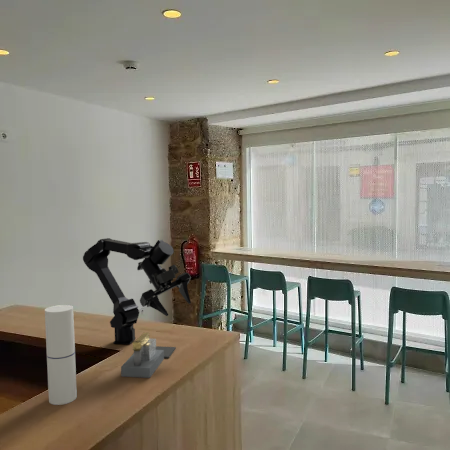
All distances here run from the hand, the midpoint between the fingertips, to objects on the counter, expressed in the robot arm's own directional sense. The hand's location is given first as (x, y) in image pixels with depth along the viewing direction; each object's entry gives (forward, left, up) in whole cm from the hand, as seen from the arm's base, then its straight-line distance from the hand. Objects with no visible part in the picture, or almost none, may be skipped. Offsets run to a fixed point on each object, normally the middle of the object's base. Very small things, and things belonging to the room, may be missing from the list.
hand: (179, 309), depth 148 cm
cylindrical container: (-24, -34, -16) cm, 44 cm away
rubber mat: (-9, +2, -16) cm, 19 cm away
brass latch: (-9, -12, -8) cm, 17 cm away
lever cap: (-9, -9, -13) cm, 18 cm away
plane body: (-9, -11, -16) cm, 21 cm away
